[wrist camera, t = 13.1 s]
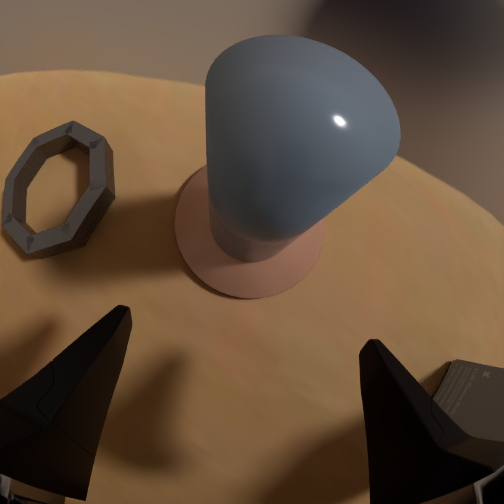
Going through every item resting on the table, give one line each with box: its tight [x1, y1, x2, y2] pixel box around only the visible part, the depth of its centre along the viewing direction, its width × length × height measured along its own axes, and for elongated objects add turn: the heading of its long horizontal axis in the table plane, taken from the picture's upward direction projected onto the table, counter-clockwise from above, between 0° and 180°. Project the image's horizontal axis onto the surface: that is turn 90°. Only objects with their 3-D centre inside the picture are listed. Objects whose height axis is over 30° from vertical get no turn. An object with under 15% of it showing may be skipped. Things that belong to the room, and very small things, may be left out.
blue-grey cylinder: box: [205, 35, 401, 262], centre depth 12 cm, size 5×5×12 cm
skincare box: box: [433, 359, 504, 442], centre depth 10 cm, size 8×7×16 cm
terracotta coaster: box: [175, 165, 324, 299], centre depth 18 cm, size 10×10×1 cm
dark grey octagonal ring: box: [2, 121, 115, 259], centre depth 16 cm, size 10×10×2 cm
